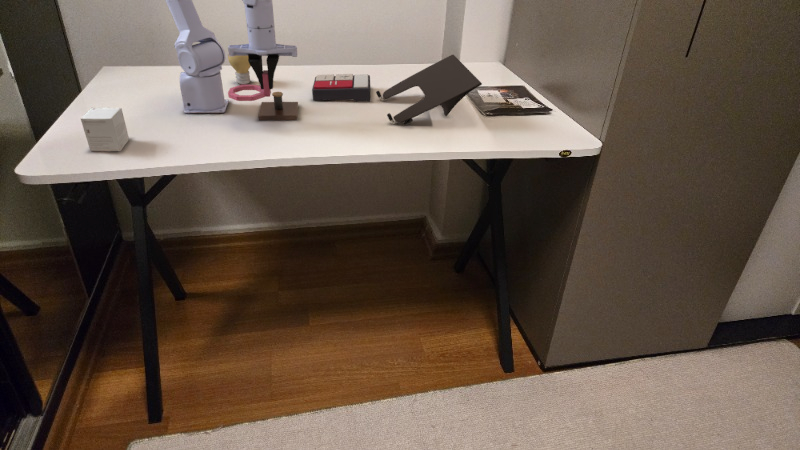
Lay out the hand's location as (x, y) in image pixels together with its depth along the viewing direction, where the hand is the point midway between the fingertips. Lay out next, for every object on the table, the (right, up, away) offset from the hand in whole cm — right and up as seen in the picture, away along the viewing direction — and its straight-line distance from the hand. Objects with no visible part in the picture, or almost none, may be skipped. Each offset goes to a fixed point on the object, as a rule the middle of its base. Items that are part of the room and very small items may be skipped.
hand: (267, 87), depth 119 cm
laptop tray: (+36, -2, +16) cm, 39 cm away
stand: (0, -4, +10) cm, 11 cm away
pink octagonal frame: (-5, -1, 0) cm, 5 cm away
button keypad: (+15, +4, +23) cm, 27 cm away
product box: (-31, -15, -8) cm, 35 cm away
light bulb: (-13, +8, +27) cm, 31 cm away
